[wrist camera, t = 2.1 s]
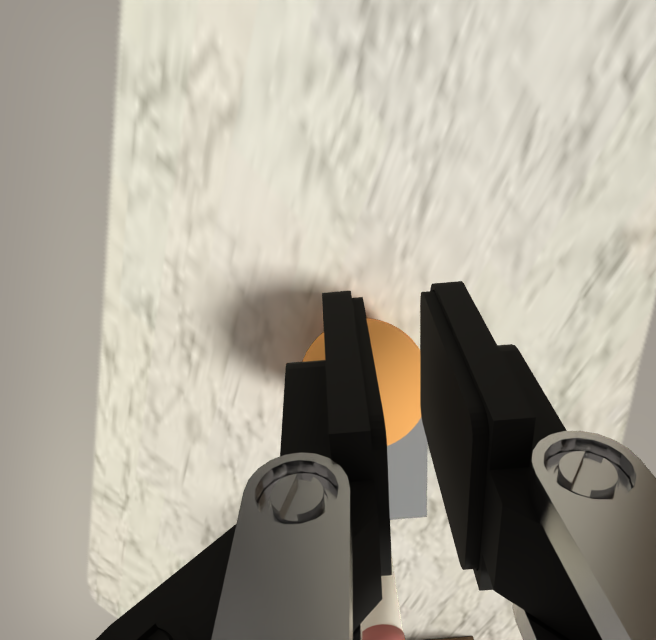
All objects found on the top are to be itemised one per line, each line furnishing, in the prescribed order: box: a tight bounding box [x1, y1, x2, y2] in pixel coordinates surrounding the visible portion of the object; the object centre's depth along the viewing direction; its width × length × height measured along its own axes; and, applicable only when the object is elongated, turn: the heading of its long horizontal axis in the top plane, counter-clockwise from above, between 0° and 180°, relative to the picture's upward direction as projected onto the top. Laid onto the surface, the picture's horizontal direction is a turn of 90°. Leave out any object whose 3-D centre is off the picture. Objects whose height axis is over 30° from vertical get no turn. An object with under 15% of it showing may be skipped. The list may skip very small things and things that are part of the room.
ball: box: [302, 318, 421, 446], centre depth 26 cm, size 6×6×6 cm
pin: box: [361, 555, 405, 640], centre depth 32 cm, size 2×2×8 cm
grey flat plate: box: [387, 417, 427, 520], centre depth 33 cm, size 8×7×1 cm
